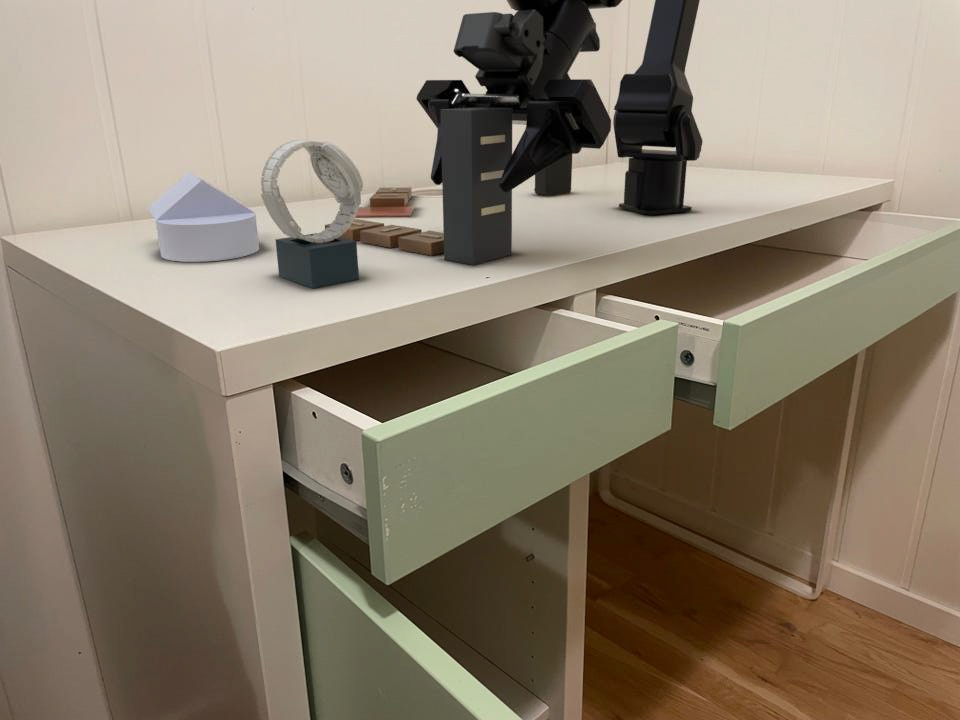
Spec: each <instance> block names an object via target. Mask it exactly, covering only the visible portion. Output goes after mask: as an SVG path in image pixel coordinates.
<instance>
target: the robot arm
mask: <svg viewBox="0 0 960 720" xmlns="http://www.w3.org/2000/svg"><path fill="white" fill-rule="evenodd" d="M506 2H507V4H508V6H509V7H510V9H512V10H514V11H515V13H514V14H513V13H502V12H497V11H489V12H476V13H466V14H463V16H462V18H461V22H460V25H459V28H458V33H457V37H456V40H455V43H454V48H453V53H454V54H455V55H456V57H458V58H463V59H464V60H465V61H467V62H469V64H471V66H473V67H475V68H476V69H478V71H477V72H476V73H475V75H474V78H475V79H476V81H477V83H478V84H479V85H480V87H485V89H486V91H485V93H471V92H470V91H469V89H468V87H467V85H466V84H465V83H464V81H463V79H426V80H425V82H424V84H423V85H422V87H421V88H420V89H419V91H418V93H417V95H416V101H417V102H418V104H419V105H420V106H421V108H422V109H423V110H424V112H425V114H426V115H427V116H428V117H429V119H430V120H431V122H432V123H433V124H434V126H435V127H436V129H437V134H436V142H435V149H434V154H433V155H434V156H433V159H432V160H433V161H432V167H431V171H430V180H431V181H432V182H433V184H435V185H436V186H440V185H442V148H441V109H457V108H476V107H497V108H512V125H523V126H525V128H524V130H523V133H522V135H521V137H520V138H519V141H518V142H517V145H516V146H515V148H514V149H513V151H512V156H511V158H510V160H509V162H508V164H507V166H506V168H505V170H504V172H503V175H502V177H501V180H500V182H499V186H500V188H501V189H502V191H503V192H509V191H511V190H512V191H513V190H514V189H516V188H517V187H518V186H520V185H522V183H524V182H526V181H528V180H529V179H531V178H533V177H535V174H537V173H539V172H540V171H542V170H543V169H545V168H547V167H548V166H550V165H552V164H554V163H556V162H557V161H559V160H561V159H563V158H565V157H567V156H568V155H570V154H572V155H577V154H580V153H581V152H582V149H598V150H599V149H601V148H602V147H603V146H604V145H605V142H606V140H607V138H608V136H609V134H610V132H611V130H612V125H613V133H614V139H615V145H616V153H617V158H620V159H624V158H628V168H627V170H626V171H625V174H624V190H623V191H624V193H623V194H624V195H623V202H622V203H621V202H620V203H618V208H619V209H624V210H629V211H631V212H635V213H640V214H644V215H649V216H650V215H661V214H671V213H673V214H674V213H682V212H683V213H684V212H691V211H692V209H693V207H692V206H691V205H686V204H685V203H684V202H685V190H686V179H687V164H688V162H689V161H691V162H692V161H693V162H695V161H698V159H700V155H701V152H702V147H703V142H704V141H703V137H702V135H701V132H700V130H699V127H698V125H697V121H696V119H695V117H694V114H693V104H694V103H693V102H694V95H693V92H692V89H691V87H690V84H689V81H688V79H687V76H686V66H687V62H688V58H689V53H690V47H691V43H692V38H693V33H694V29H695V24H696V21H697V20H696V19H697V16H698V15H697V14H698V10H699V6H700V0H654V4H653V10H652V13H651V19H650V23H649V30H648V33H647V39H646V44H645V47H644V53H643V58H642V61H641V64H640V65H639V67H638V68H637V69H636V70H635V71H634V73H624V74H623V76H622V78H621V79H620V82H619V89H618V96H617V100H616V103H615V105H614V107H613V111H614V113H613V121H612V119H611V116H610V115H609V112H608V111H607V109H606V106H605V104H604V102H603V100H602V98H601V96H600V94H599V92H598V89H597V87H596V86H595V84H594V81H593V80H592V79H587V78H584V79H583V78H582V79H578V78H577V79H576V78H575V79H573V78H571V77H570V75H569V71H570V70H571V68H572V66H573V64H574V63H575V61H576V59H577V57H578V55H579V54H580V53H591V52H592V53H594V52H599V51H600V49H601V39H600V37H599V34H598V32H597V23H596V22H595V20H594V18H593V15H592V13H591V10H595V9H596V10H597V9H611V8H616V7H618V6H619V5H620V4H621V3H622V2H623V0H506ZM612 122H613V123H612ZM643 147H652V148H653V147H654V148H656V147H657V148H672V149H673V148H675V150H664V149H663V150H662V149H645V148H643Z"/></svg>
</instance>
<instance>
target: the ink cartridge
mask: <svg viewBox="0 0 960 720" xmlns="http://www.w3.org/2000/svg"><path fill="white" fill-rule="evenodd" d="M572 175H573V154H570V155H568V156H567V157H565V158H563V159H561V160H559V161H557V162H556V163H554V164H552V165H550V166H548V167H547V168H545V169H543V170H542V171H540V172H539V173H537V174H535V175H534V188H533V191H534V193H535V194H536V195H539V196H545V197H551V196H552V197H553V196H559V195H566V194H571V192H572V179H573V178H572Z"/></svg>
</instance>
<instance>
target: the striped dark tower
mask: <svg viewBox="0 0 960 720" xmlns="http://www.w3.org/2000/svg"><path fill="white" fill-rule="evenodd" d="M441 148H442V183H441V185H442V187H441V188H442V224H443V226H442V227H443V229H442V230H443V233H444V253H443V258H444V261H449V262H454V263H460V264H465V265H471V266H475V265H479V264H483V263H486V262H489V261H493V260H497V259H500V258H504V257H508V256H511V255H513V253H512V252H513V251H512V250H513V249H512V248H513V247H512V245H513V243H512V241H513V189H512V190H511V191H509V192H503V191H502V189H501V188H500V186H499V182H500V180H501V177H502V175H503V172H504V170H505V168H506V166H507V164H508V162H509V160H510V158H511V156H512V154H513V124H512V108H497V107H476V108H457V109H441Z"/></svg>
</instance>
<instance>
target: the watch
mask: <svg viewBox="0 0 960 720" xmlns="http://www.w3.org/2000/svg"><path fill="white" fill-rule="evenodd" d="M303 148H304V149H305V150H306V151H307V153H308V155H309V156H310V157H309V158H310V159H309V160H310V163H311V167H312V169H313V172H314V174H315V175H316V177H317V178H318V180H319V181H320V182H321V183H322V184H323V186H324V187H325V188H326V189H327V190H328V191H329V192H330V193H332V195H333V197H334V200H335V201H336V203H337V204H339V207H338V209H339V210H338V211H337V213H336V216H335V218H334V219H333V221H332V222H331V223H329V224H330V225H329V228H326V229H325V228H324V229H323V230H322V231H320V232H315V233H309V234H303V232H302V228H301V226H299V224H298V223H297V222H296V220H295V219H294V217H293V215H292V213H291V212H290V210H289V208H288V206H287V203H286V201H285V199H284V197H282V195H281V191H280V186H279V185H278V177H279V175H280V171H281V168H282V167H283V166H284V164H285V162H286V161H287V159H289V158H290V157H291V156H292V155H294V153H295V152H298V151H299V150H301V149H303ZM260 179H261V180H260V184H261V188H260V189H261V192H262V193H261V194H260V197H261V199H262V201H263V203H264V206H265V208H266V211H267V212H268V214H269V216H270V218H271V219H272V221H273V222H274V223H275V226H277V227H278V229H279V230H280V231H281V232H282V234H284V235H285V236H287V237H283V238H282V237H281V238H275V248H276V258H277V268H278V277H280V278H282V279H284V280H289V281H290V282H291V281H292V282H294V283H296V284H299V285H302V286H305V287H307V288H310V289H316V288H321V287H326V286H332V285H337V284H342V283H347V282H352V281H357V280H359V278H360V276H359V275H360V273H359V260H358V258H359V257H358V244H357V240H356V241H352V240H348V239H344V238H340V236H341V235H343V233H345V232H346V231H347V230H348V229H349V227H350V226H351V224H352V223H353V221H354V219H356V218H357V217H356V214H357V211H358V208H359V207H360V206H361V204H362V195H361V194H362V193H361V192H362V191H363V189H364V182H363V178H362V176H361V174H360V171H359V170H358V168H357V166H356V165H355V163H354V162H353V160H352V159H351V158H350V157H349V156H348V155H347V153H346V152H344V150H342V148H340V147H339V146H337V145H336V144H334V143H332V142H329V141H316V140H315V141H313V140H306V139H299V140H297V139H295V140H289V141H287V142H284V143H283V144H281V145H280V146H279V147H277V148H276V149H275V150H273V152H271V154H270V155H269V157H268V158H267V160H266V161H265V164H264V166H263V169H262V173H261V177H260Z"/></svg>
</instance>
